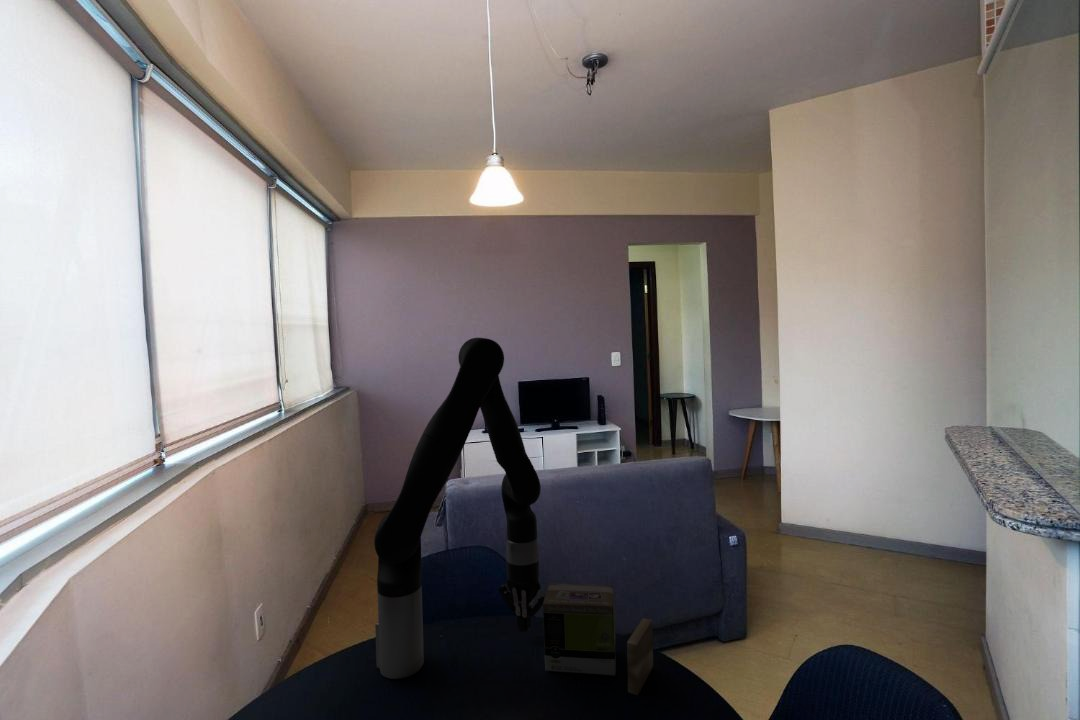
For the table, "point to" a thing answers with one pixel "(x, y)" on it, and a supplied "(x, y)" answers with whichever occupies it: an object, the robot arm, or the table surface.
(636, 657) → the birch board
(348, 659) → the table surface
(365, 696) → the table surface
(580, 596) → the tea box
